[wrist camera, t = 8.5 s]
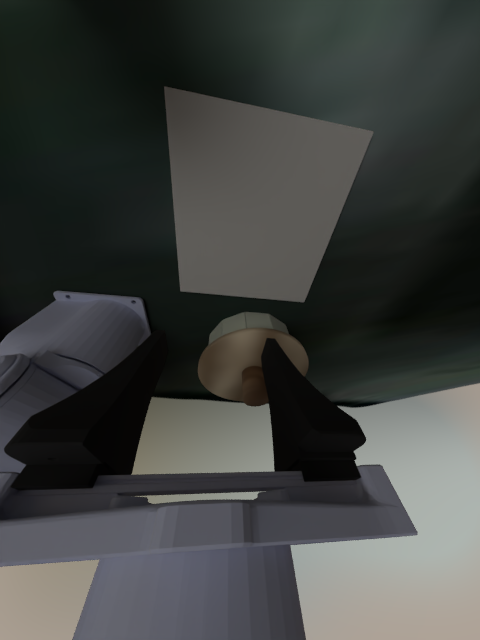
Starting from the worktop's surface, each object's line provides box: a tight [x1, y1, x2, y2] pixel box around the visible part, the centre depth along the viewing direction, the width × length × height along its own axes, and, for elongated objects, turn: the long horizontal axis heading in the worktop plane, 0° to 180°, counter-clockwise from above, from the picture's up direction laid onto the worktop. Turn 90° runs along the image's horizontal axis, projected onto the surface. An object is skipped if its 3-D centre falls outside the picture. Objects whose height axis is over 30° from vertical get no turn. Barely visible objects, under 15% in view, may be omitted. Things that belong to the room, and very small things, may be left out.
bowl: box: [209, 312, 289, 344], centre depth 26 cm, size 12×12×4 cm
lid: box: [198, 328, 309, 406], centre depth 22 cm, size 14×14×4 cm
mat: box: [164, 86, 373, 302], centre depth 17 cm, size 15×15×1 cm
